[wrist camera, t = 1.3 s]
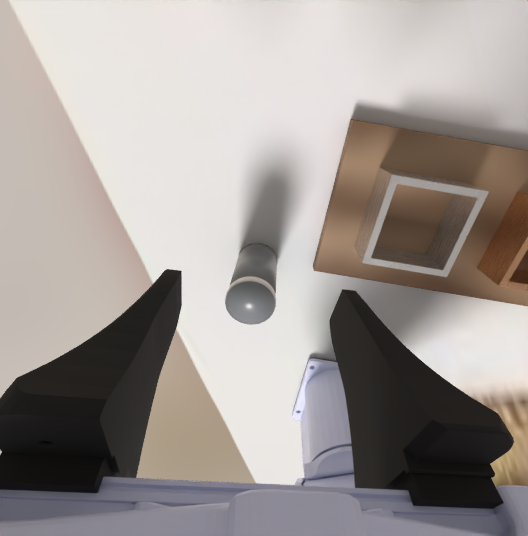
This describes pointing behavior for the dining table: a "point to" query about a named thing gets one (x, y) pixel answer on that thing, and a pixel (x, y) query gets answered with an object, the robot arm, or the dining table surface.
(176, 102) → the dining table surface
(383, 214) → the steel collar
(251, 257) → the grey domed cylinder
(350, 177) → the walnut board
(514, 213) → the copper collar
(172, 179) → the dining table surface
